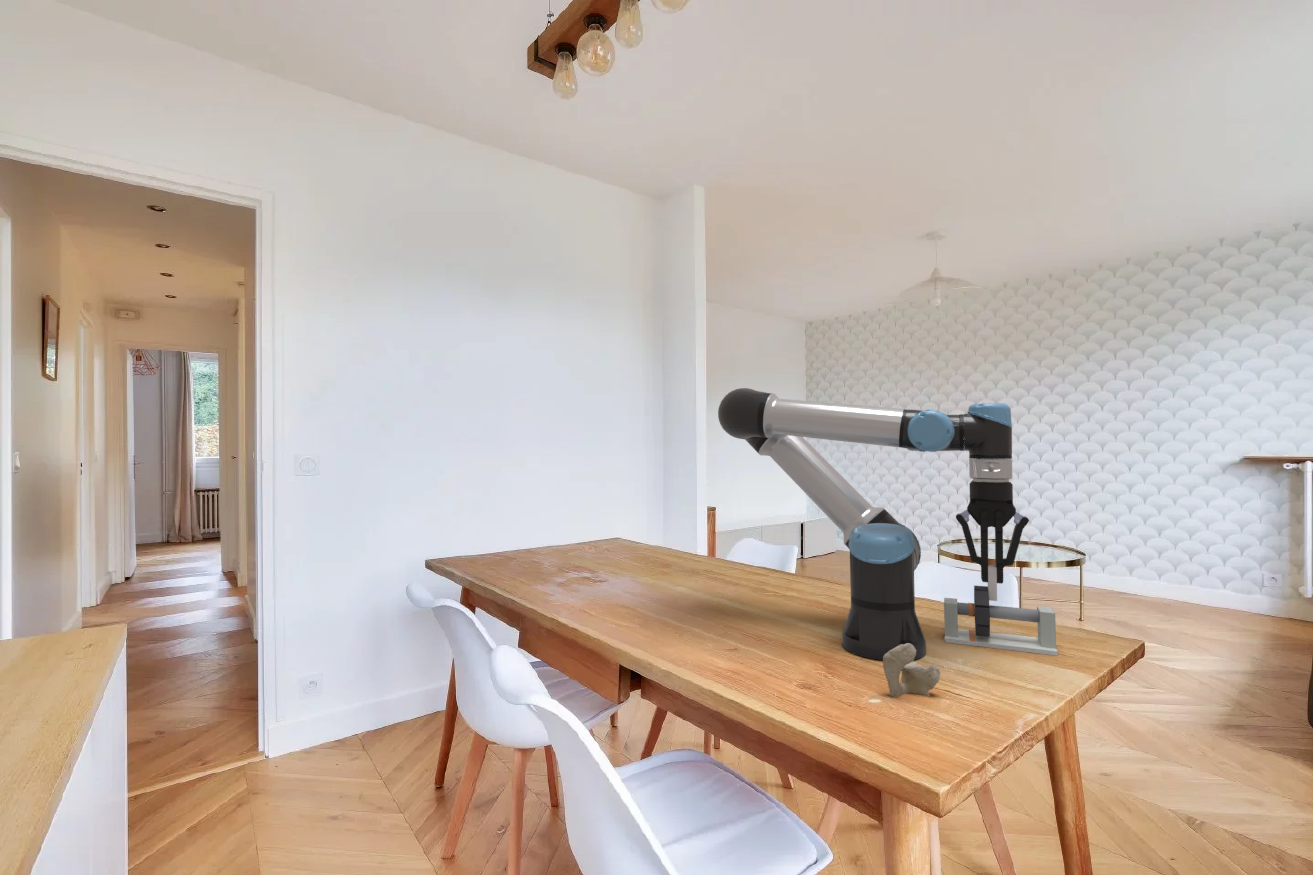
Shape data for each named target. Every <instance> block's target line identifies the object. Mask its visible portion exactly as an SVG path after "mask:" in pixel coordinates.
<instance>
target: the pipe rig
mask: <svg viewBox="0 0 1313 875" xmlns="http://www.w3.org/2000/svg"><path fill="white" fill-rule="evenodd" d="M989 608H990V619H999V620H1008V621H1019V622H1030V623H1037V637H1035V636H1029V635H1027V636H1026V635H1018V634H1009V633H999V632H998V633H997V632H991V631H990V637H986V636H977V635H976V632H975V629H964V628H959V619H958V615H960V616H969V617H974V618H975V604H974V603H973V602H958V598H951V597H944V598H943V614H944V615H943V616H944V617H943V620H944V643H948V644H956V645H957V644H958V645H966V646H974V647H982V648H991V649H997V650H998V649H999V650H1006V651H1007V650H1008V651H1015V652H1024V653H1025V652H1026V653H1031V654H1032V653H1034V654H1040V655H1049V656H1059V654H1058V653H1059V652H1058V649H1057V630H1056V627H1057V626H1056V622H1057V621H1056V612H1055V611H1054V609H1053V607H1052V606H1043V605H1042V606H1040V605H1037V606H1036V609H1035V608H1024V607H1015V606H1014V607H1012V606H1001V605H990V604H989Z"/></svg>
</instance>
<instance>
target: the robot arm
mask: <svg viewBox="0 0 1313 875" xmlns="http://www.w3.org/2000/svg"><path fill="white" fill-rule="evenodd" d="M717 409H718V410H717V419H718V422H719V424H720V427H721V428H722V429H723V431H725V433H726V434H728V435H729V436H730V437H732V438H735V439H738V440H745V442H747V444H748V445H750V446H751V448H752V449H753V450H755V451H756V453H758V455H759V456H764V457H765V456H768V457H770V458H771V459H772V461H773V462H775V464H777V466H778V467H779V468H780V469H782V471H784V473H785V474H786V475H787V476H788V477H789V478H790V479H791V480H792V481H793V482H794V483H795V484H796V485H797V486H798V487H799V488H800V490H801V491H802V492H804V494H805V495H807V497H808V498H809V499H810V500H811V501H812V502H813V503H814V504H815V505H816V506H817V507H818V508H819V509H820V510H821V511H822V513H823V514H825V515H826V517H828V518H829V519H830V520H831V522H833V524H835V526H836V527H837V529H839V530H840V531H841V532H842V535H843V544H844V545H845V546H846V548H848V550H849V572H850V574H849V577H850V578H849V579H850V580H849V581H850V584H849V585H850V608H849V611H848V613H847V618H846V621H845V623H844V626H843V630H842V634H841V638H842V639H841V640H842V647H843V648H844V649H845V650H846V651H848V652H850V653H852V654H855V655H858V656H861V657H864V658H867V659H868V658H869V659H872V660H880V661H883V656H884V655H885V654H886V653H887V652H889V650H892V649H893V648H895V647H897V646H899V645H901V644H903V645H904V644H906V643H910V644H912V645H913V646H914V648H915V649H916V651H917V652H916V656H915V658H914V660H918V659H922V658H923V657H925V655H927V641H926V638H925V635H924V633H923V630H922V627H921V624H920V620H919V618H918V616H917V613H916V606H915V604H916V602H915V601H916V600H915V598H916V597H915V570H916V569H917V567H918V565H919V564H920V561H921V557H922V554H921V553H922V550H921V545H920V541H919V540H918V537H917V536H916V534H915V533H914V532H913V531H912V530H911V529H910V528H909V527H907V526H906V525H904V524H901V522H899V521H898V520H896V519H895V518H894V516H893V515H892V514H890V513H889V512H888V511H887V510H886V508H884V507H877V506H876V507H875V506H872V505H871V504H870V502H868V501H867V499H866V498H864V496H863V495H861V493H859V491H857V490H856V488H854V487H853V485H852V484H850V482H848V480H846V479H845V478H844V476H843V475H842V474H840V473H839V472H838V470H836V469H835V467H833V466H832V464H830V462H828V460H826V459H825V458H824V457H823V455H821V454H820V453H819V452H818V451H817V450H816V449H815V448H814V446H812V444H810V443H809V441H807V440H806V438H809V439H810V438H811V439H818V440H819V439H820V440H828V441H839V442H848V443H857V444H863V445H864V444H865V445H873V446H881V447H882V446H883V447H893V448H902V449H907V450H908V451H913V452H922V453H925V452H931V453H936V452H958V451H959V452H965V451H966V452H967V451H968V453H969V454H968V461H969V462H968V465H969V466H968V467H969V468H968V469H969V472H968V473H969V476H968V477H969V478H970V479H971V480H972V481H970V482H969V503H968V504H967V506H966V509H965V510H964V511H962V512H960V513H956V514H955V519H956V520H957V522H958V524H959V525H960V526H961V528H962V532H963V536H964V539H965V542H966V547H967V551H968V553H969V556H970V560H971V562H972V563H976V564H978V565H979V566H980V575H981V576H980V578H981V581H982V583H987V587H988V592H989V601H993V602H998V584H1003V583H1004V568H1005V567H1007V566H1012V565H1014V563H1015V560H1016V556H1017V552H1018V549H1019V545H1020V541H1021V538H1022V533H1023V530H1024V529H1025V527H1026V526H1027V525H1028V523H1029V522H1030V519H1029V518H1028V516H1025V515H1022V514H1020V513H1019V512H1018V511H1017V508H1016V506H1015V505H1014V499H1013V498H1014V496H1013V495H1014V494H1013V493H1014V491H1013V489H1014V487H1013V483H1012V482H1011V481H1010V480H1012V479H1013V424H1012V412H1011V407H1010V406H1009V405H1008V404H1007V403H1004V402H1003V403H1001V402H986V403H984V402H983V403H974V404H970V405H969V406H968V411H967V413H963V414H946V413H944V412H942V411H940V410H935V409H926V410H921V409H919V410H917V409H906V408H896V407H884V406H883V407H882V406H871V405H859V404H858V405H857V404H848V403H847V404H846V403H836V402H835V403H834V402H824V401H822V402H821V401H811V400H799V399H789V398H788V399H786V398H779V396H777V394H775V393H773V392H772V393H770V392H766V391H759V390H755V389H752V388H748V387H741V388H736V389H733V390H731V391H730V392H728V393H727V394H726V395H724V397H723V398H722V399H721V401H720V403H719V405H718V408H717ZM969 516H970V517H971V518H972V519H973V520H974V521H975V522H976V524H977V525H978V526H980V527H979V528H980V556H978V555H977V551H976V548H975V547H976V546H975V544H974V540H973V536H972V534H971V533H972V532H971V530H970V527H969V526H970V525H969V521H970V517H969ZM1012 518H1014V519H1013V522H1014V524H1015V525H1014V528H1013V532H1012V535H1011V539H1010V542H1009V546H1008V548H1007V550H1008V551H1007V554H1006V556H1005V558H1004V537H1003V536H1004V527H1005V526H1006V525H1007V524H1008V522H1010V521H1011V519H1012ZM990 527H992V528H994V546H995V547H994V549H995V550H994V551H995V552H994V553H995V555H994V556H995V565H993V564H989V528H990ZM914 660H913V661H914Z"/></svg>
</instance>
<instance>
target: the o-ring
mask: <svg viewBox="0 0 1313 875" xmlns="http://www.w3.org/2000/svg"><path fill="white" fill-rule="evenodd" d="M973 600H974V601H973V602H974V604H975V616H974V631H975V632H976V635H977V636H986V637H990V632H991V618H990V608H989V605H990V600H989V592H988V585H987V586H986V585H973Z"/></svg>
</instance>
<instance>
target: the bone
mask: <svg viewBox="0 0 1313 875" xmlns="http://www.w3.org/2000/svg"><path fill="white" fill-rule="evenodd" d="M916 652H917V651H916V649H915V648H914V646H913V645H912V644H910V643H906V644H904V645H903V644H901V645H899V646H897V647H895V648H893V649H892V650H889V652H887V653H886V654H885V655H884V656H883V660H882V664H883V665H882V666H883V672H884V674H885V678H886V680H887V683H888V689H889V690H888V692H889V693H888V694H889V696H890V697H892V698H893V697H894V698H898V697H900V696H902V695H905V694H906V695H907V694H908V693H915V694H921V695H924V696H927V697H931V694H930V693H929V691H931V690H933V689H934V688H935V686H936V685H937V684H938V683H939V681H940V679H941V678H940V676H941V671H940V669H939V668H938V666H937V665H936V664H934V663H931V664H930V665H929V666H926V667H924V666H923V665H921V664H920V663H919V664H918V663H917V662H915V661H914V658H915V656H916ZM900 677H901V678H900ZM900 680H901V682H900Z"/></svg>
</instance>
